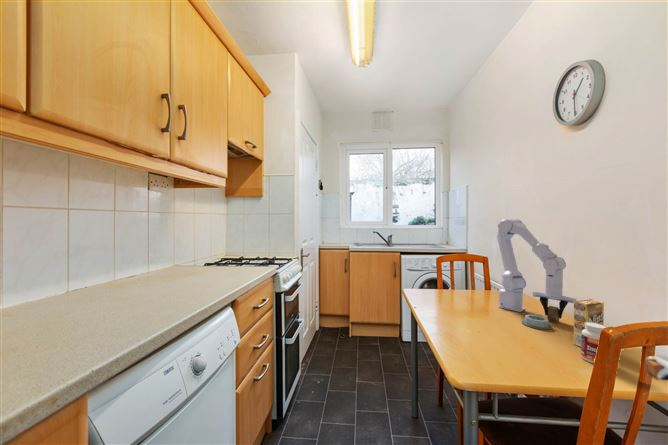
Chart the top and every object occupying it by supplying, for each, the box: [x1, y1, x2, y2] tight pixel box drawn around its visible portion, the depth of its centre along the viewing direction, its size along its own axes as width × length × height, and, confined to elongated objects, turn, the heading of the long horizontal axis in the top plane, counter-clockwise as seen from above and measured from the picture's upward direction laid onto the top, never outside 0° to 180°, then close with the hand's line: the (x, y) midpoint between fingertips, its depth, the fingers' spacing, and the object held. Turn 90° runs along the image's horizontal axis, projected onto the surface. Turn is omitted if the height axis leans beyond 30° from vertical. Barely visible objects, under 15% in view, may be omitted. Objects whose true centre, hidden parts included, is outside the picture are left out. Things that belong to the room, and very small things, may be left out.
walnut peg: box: [546, 305, 560, 323], centre depth 117 cm, size 4×4×6 cm
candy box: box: [573, 298, 605, 348], centre depth 94 cm, size 9×4×15 cm, turn 107°
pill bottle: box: [580, 322, 607, 364], centre depth 83 cm, size 6×6×11 cm
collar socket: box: [521, 314, 553, 331], centre depth 111 cm, size 10×10×3 cm
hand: (553, 316), depth 117 cm, fingers closed on walnut peg, 4 cm apart
